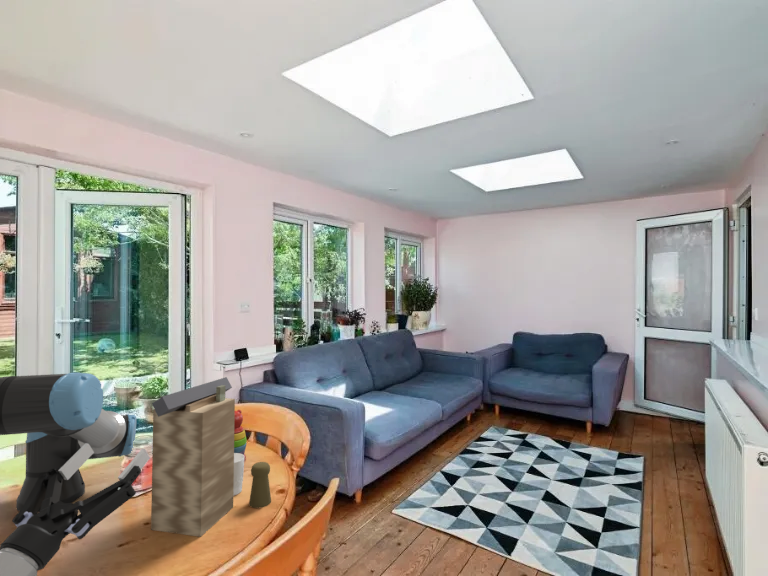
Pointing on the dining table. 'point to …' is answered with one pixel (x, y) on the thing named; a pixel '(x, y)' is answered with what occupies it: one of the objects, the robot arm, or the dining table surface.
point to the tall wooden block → (193, 465)
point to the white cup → (238, 473)
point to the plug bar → (188, 396)
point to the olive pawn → (260, 485)
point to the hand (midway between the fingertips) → (117, 450)
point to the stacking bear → (239, 434)
